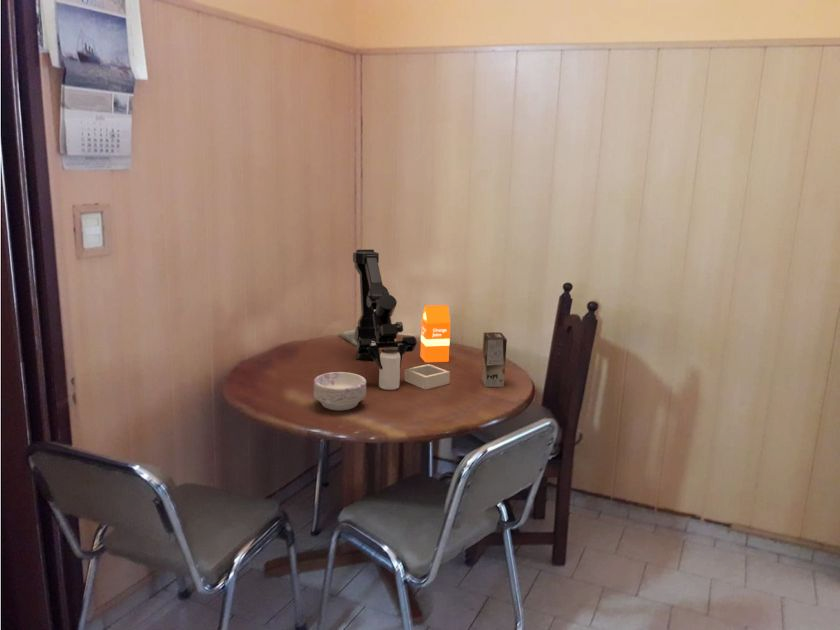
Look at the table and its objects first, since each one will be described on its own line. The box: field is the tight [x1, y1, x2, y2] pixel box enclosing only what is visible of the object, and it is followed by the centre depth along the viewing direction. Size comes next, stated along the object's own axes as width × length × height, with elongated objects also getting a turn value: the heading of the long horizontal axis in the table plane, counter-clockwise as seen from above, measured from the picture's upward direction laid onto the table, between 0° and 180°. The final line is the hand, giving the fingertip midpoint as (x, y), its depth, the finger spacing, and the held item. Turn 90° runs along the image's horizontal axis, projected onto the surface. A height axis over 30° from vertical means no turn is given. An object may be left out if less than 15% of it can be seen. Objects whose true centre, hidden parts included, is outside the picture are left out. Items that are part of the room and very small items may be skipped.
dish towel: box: [338, 329, 398, 347], centre depth 273 cm, size 19×18×3 cm
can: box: [378, 347, 401, 391], centre depth 216 cm, size 6×6×12 cm
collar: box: [404, 363, 451, 390], centre depth 224 cm, size 10×10×4 cm
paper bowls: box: [313, 371, 367, 412], centre depth 200 cm, size 15×15×8 cm
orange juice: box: [419, 304, 451, 363], centre depth 248 cm, size 8×9×20 cm
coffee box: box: [480, 331, 508, 388], centre depth 224 cm, size 9×6×16 cm
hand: (390, 368), depth 215 cm, fingers closed on can, 5 cm apart
